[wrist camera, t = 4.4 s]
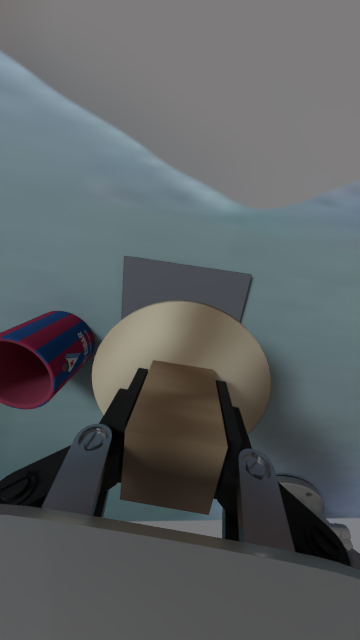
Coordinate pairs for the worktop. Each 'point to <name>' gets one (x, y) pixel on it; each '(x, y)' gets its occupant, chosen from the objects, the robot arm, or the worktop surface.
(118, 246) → the worktop surface
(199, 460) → the lid
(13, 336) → the mug
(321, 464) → the worktop surface
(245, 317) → the worktop surface
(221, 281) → the mat
